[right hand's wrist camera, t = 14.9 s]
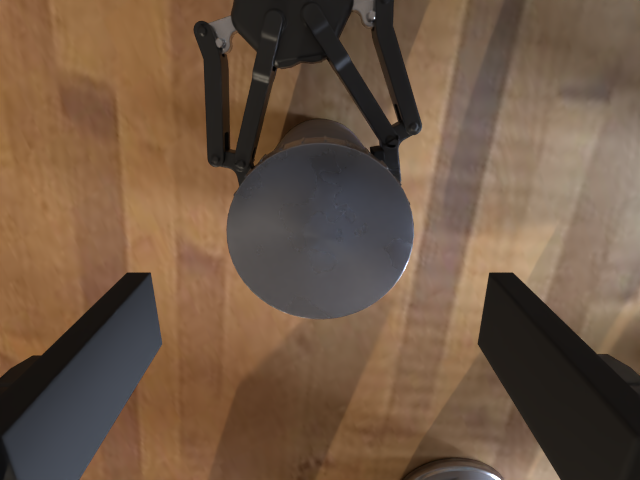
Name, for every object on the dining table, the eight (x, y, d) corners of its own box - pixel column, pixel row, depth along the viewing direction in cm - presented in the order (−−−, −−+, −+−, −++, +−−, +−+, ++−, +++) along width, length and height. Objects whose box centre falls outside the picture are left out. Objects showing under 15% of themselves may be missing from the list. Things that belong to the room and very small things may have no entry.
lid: (422, 274, 24) (432, 294, 21) (268, 316, 25) (262, 339, 22) (382, 111, 20) (390, 114, 18) (208, 166, 21) (194, 176, 19)
